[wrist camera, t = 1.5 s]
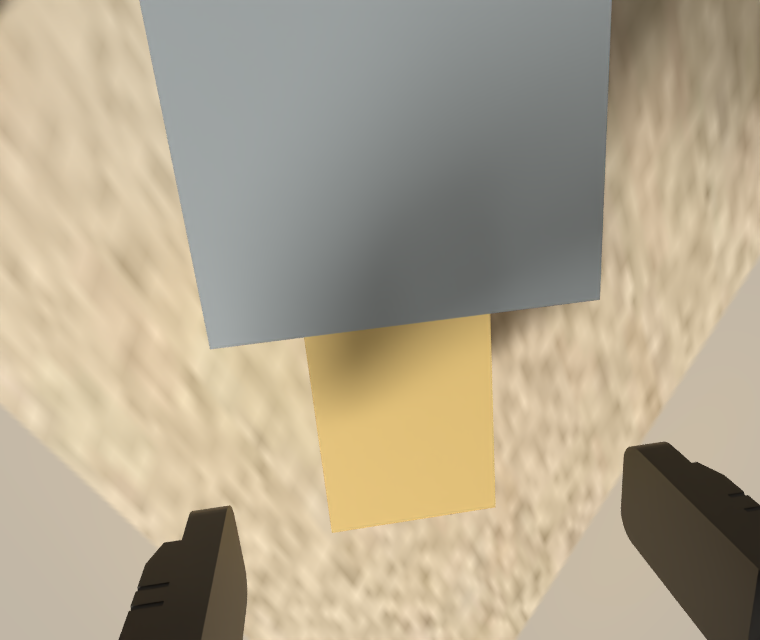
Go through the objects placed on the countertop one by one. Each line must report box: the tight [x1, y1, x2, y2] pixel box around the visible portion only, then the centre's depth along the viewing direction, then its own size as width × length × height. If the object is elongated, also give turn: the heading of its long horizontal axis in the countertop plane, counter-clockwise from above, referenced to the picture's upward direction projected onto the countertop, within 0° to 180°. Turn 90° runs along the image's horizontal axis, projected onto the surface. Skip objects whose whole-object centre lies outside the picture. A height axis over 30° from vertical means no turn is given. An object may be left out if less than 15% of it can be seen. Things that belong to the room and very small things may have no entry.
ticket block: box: [139, 0, 612, 349], centre depth 14 cm, size 12×8×9 cm, turn 5°
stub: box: [304, 314, 495, 533], centre depth 18 cm, size 6×4×7 cm
